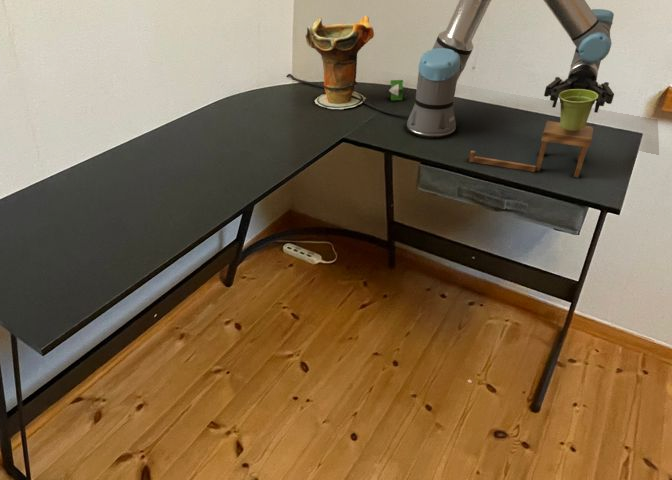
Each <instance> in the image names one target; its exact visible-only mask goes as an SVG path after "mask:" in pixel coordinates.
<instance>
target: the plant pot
mask: <svg viewBox="0 0 672 480" xmlns="http://www.w3.org/2000/svg"><path fill="white" fill-rule="evenodd" d="M597 98H598V94H597V93H596V92H594V91H591V90H585V89H571V90H565V91H563V92H561V93H560V94H559V97H558V99H559V103H560V110H559V111H560V114H559V115H560V116H559V119H560V120H559V122H560V127H561V128H565V129H566V130H569V131H578V130H580V129H582V128H584V127H585V126H587V122H588V119H589V117H590V114H591V111H592V108H593V106H594V104H596V99H597Z"/></svg>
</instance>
